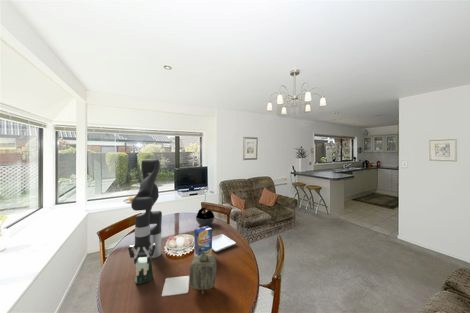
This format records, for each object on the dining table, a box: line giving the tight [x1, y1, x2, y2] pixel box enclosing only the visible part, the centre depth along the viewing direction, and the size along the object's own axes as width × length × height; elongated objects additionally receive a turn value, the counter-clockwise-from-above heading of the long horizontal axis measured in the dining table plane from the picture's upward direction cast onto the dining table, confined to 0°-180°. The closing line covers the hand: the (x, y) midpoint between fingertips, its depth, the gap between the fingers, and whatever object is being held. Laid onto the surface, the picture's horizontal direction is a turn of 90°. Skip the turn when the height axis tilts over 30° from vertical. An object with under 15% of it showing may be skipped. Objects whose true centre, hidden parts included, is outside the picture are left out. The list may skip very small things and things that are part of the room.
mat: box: [161, 275, 190, 298], centre depth 105 cm, size 14×14×1 cm
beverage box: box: [193, 225, 213, 258], centre depth 132 cm, size 7×11×22 cm, turn 129°
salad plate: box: [212, 233, 236, 253], centre depth 153 cm, size 21×21×3 cm
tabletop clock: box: [188, 247, 218, 295], centre depth 101 cm, size 14×9×25 cm, turn 92°
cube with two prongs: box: [135, 257, 149, 276], centre depth 99 cm, size 5×5×7 cm
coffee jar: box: [134, 247, 154, 285], centre depth 110 cm, size 10×8×19 cm
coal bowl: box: [195, 207, 216, 227], centre depth 194 cm, size 20×20×19 cm
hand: (142, 263), depth 99 cm, fingers closed on cube with two prongs, 5 cm apart
